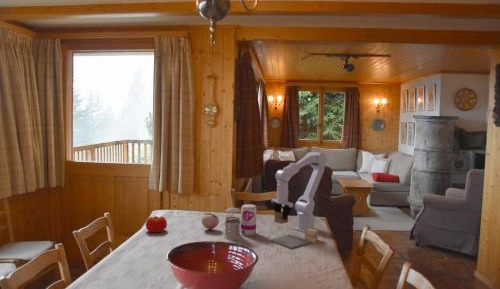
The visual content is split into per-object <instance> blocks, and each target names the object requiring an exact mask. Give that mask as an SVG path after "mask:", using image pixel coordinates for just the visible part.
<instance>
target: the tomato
mask: <svg viewBox="0 0 500 289" xmlns="http://www.w3.org/2000/svg"><path fill="white" fill-rule="evenodd" d="M167 226H168V222H167V219H166V218H165V217H164V216H160V217H159V216H157V215H156V216H151V217H148V219H146V221H145V228H146V230H148V231H149V232H151V233H161V232H163V231H164V230H165V229H166V228H167Z"/></svg>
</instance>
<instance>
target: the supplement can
mask: <svg viewBox="0 0 500 289" xmlns="http://www.w3.org/2000/svg"><path fill="white" fill-rule="evenodd" d="M240 210H241V212H240V234H241V236H242V235H243V236H249V237H251V236H255V234H257V210H258V209H257V207H256V205H255V204H251V203H250V204H249V203H245V204H243V205H242V206H241V208H240Z"/></svg>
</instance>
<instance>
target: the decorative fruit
mask: <svg viewBox="0 0 500 289" xmlns="http://www.w3.org/2000/svg"><path fill="white" fill-rule="evenodd" d="M201 223H202V224H201V225H202V226H203V227H204V228H205V229H207V230H209V231H211V230H213V229H215V228H216V227H217V226H218V225H219V223H220V218H219V217H218V216H217V214H215V213H211V211H210V212H204V213H203V217H202V218H201Z"/></svg>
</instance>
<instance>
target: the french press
mask: <svg viewBox="0 0 500 289" xmlns="http://www.w3.org/2000/svg"><path fill="white" fill-rule="evenodd" d="M231 192H232V195H233V196H232V202H233V204H234V199H235V198H234V197H235V196H234V195H235V192H236V188H232V189H231ZM224 211H225V213H227V215H226V216H225V219H224V220H225V221H224V226H225V228H224V235H223V236H222V238H223V239H224V240H227V241H228V240H229V241H237V240H238V241H239V240H241V239H242V238H243V237H242V234H241V217H238V216H232V215H228V214H240V213H241V208H240V209H239V208H238V207H234V206H232V207H231V206H230V207H228V208H227V209H225V210H224Z"/></svg>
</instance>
